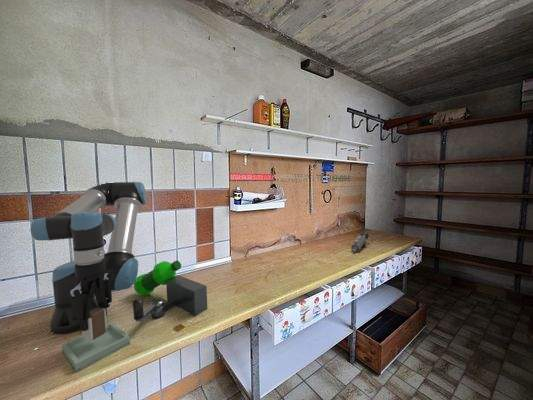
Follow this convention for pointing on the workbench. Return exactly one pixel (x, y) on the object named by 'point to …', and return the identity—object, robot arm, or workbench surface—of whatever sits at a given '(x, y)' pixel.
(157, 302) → the crank
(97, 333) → the wooden block
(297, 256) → the workbench surface
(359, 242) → the hydraulic cylinder
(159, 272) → the plastic bottle
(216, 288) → the workbench surface
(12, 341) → the workbench surface
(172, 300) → the stand
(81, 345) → the tray
